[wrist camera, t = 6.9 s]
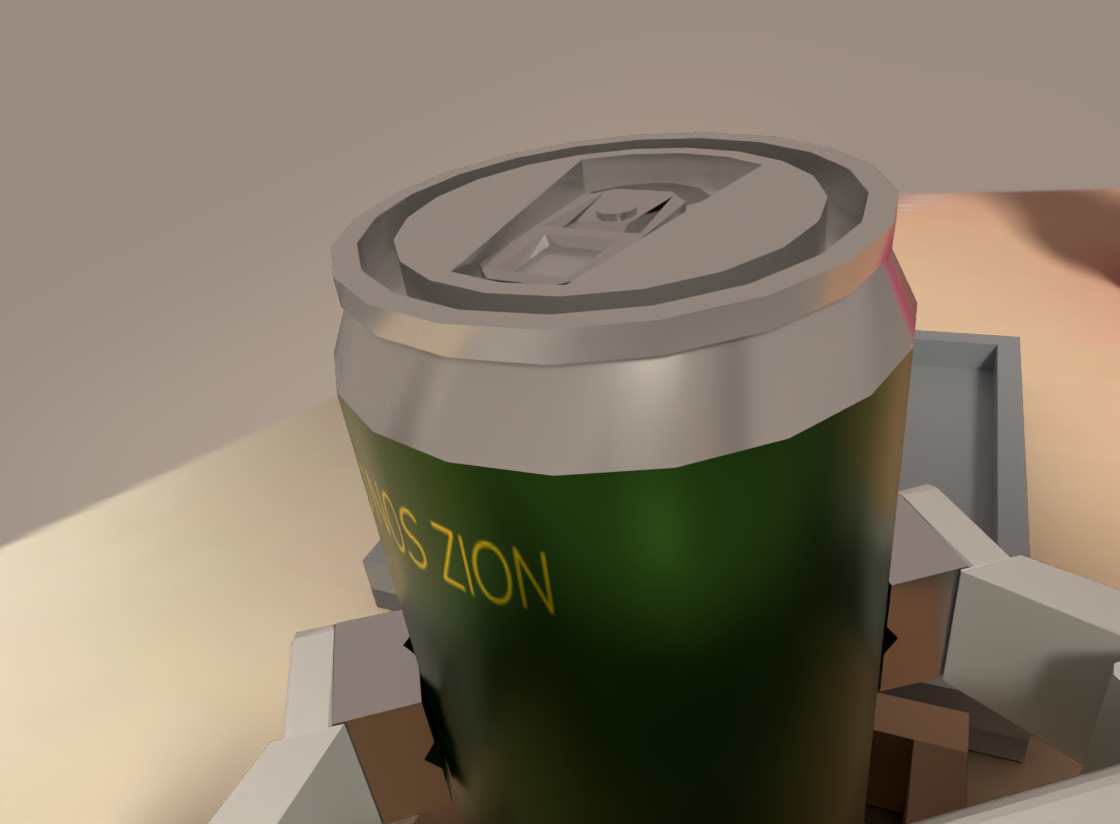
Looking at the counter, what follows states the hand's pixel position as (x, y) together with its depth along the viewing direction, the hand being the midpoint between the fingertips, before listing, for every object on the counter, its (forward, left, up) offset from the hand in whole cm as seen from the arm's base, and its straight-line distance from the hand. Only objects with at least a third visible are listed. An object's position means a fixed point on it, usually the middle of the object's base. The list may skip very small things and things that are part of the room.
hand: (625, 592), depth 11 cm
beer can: (+1, -1, -7) cm, 7 cm away
